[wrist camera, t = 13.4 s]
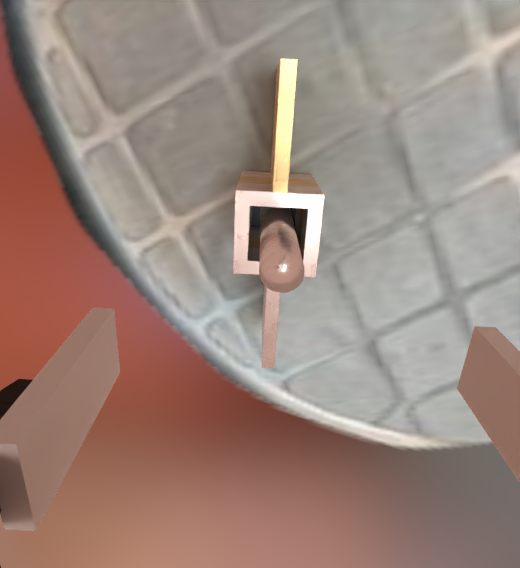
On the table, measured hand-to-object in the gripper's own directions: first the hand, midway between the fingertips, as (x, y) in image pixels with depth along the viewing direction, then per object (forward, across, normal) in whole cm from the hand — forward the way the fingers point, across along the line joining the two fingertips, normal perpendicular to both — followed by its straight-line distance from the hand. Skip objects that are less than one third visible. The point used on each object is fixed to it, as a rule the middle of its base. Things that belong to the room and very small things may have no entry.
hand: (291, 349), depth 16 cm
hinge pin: (+24, 0, 0) cm, 24 cm away
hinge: (+24, 0, 0) cm, 24 cm away
